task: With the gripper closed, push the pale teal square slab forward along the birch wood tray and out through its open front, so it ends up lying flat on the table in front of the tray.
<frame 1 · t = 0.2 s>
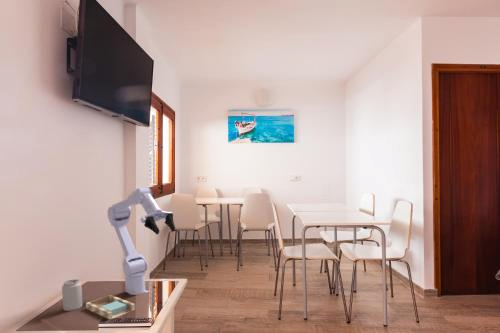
hand: (166, 231, 148), 31 cm above the table, tool tilted 50°, fingers open, 7 cm apart
tray: (110, 311, 148), on the table
can: (73, 309, 153), on the table
pale teal square slab: (113, 310, 146), point 1 cm above the table, touching tray
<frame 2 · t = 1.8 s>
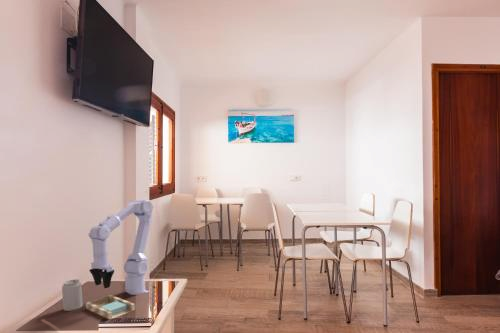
hand: (102, 286, 151), 9 cm above the table, tool pointing down, fingers open, 7 cm apart
nothing on the table moved.
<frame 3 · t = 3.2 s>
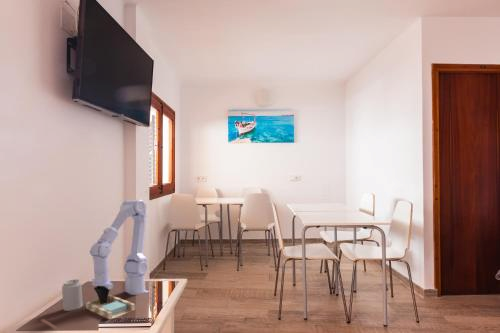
hand: (103, 303, 151), 2 cm above the table, tool pointing down, fingers closed
nothing on the table moved.
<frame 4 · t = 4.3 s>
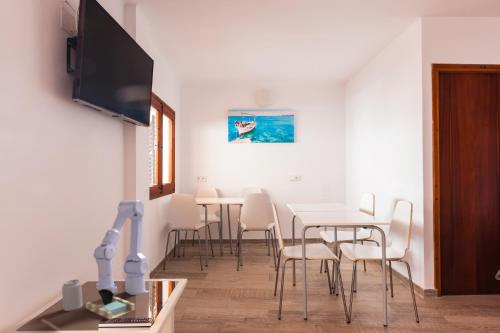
hand: (107, 306, 149), 1 cm above the table, tool pointing down, fingers closed
pale teal square slab: (113, 310, 146), point 1 cm above the table, touching gripper, tray
everything else where it was.
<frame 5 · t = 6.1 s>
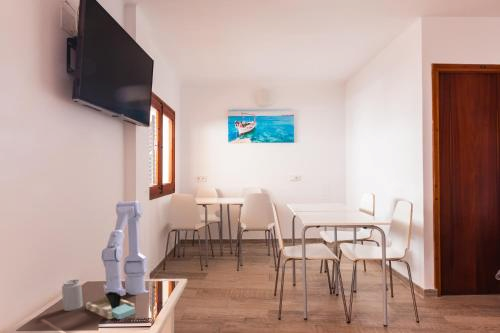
hand: (115, 309, 145), 1 cm above the table, tool pointing down, fingers closed
pale teal square slab: (122, 314, 141), point 1 cm above the table, touching gripper, tray
everything else where it was.
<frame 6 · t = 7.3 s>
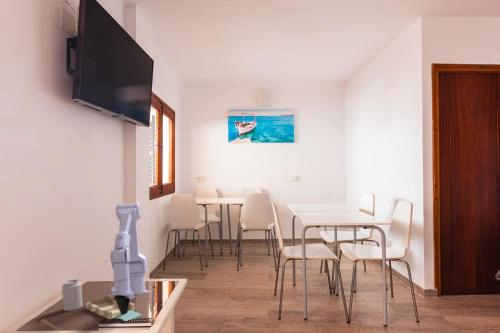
hand: (124, 313, 140), 1 cm above the table, tool pointing down, fingers closed, pressing on pale teal square slab
pale teal square slab: (128, 320, 138), on the table, touching gripper
everything else where it was.
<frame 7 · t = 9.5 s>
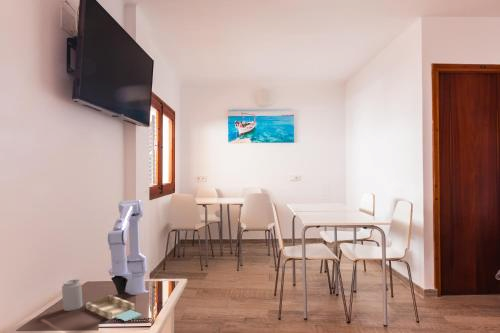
hand: (121, 294, 142), 8 cm above the table, tool pointing down, fingers closed
pale teal square slab: (128, 320, 138), on the table
everything else where it was.
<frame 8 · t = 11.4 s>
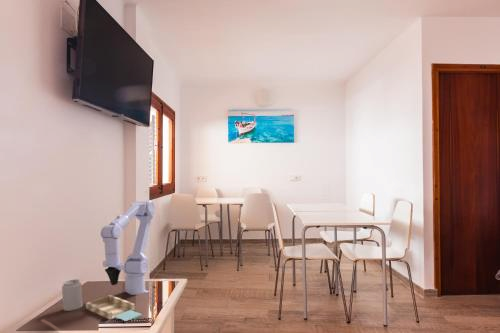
hand: (114, 284, 153), 9 cm above the table, tool pointing down, fingers closed
nothing on the table moved.
at the end: pale teal square slab inside the target area on the table beside the tray (5.4 cm from its centre), on the table; pale teal square slab touching table; pale teal square slab tilted 0° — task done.
